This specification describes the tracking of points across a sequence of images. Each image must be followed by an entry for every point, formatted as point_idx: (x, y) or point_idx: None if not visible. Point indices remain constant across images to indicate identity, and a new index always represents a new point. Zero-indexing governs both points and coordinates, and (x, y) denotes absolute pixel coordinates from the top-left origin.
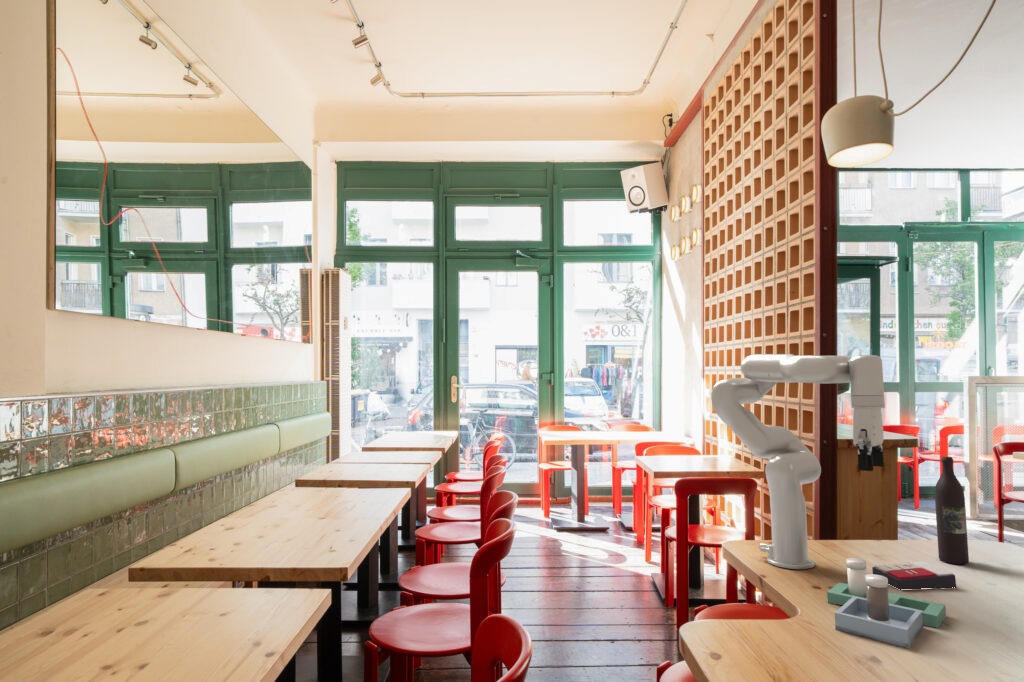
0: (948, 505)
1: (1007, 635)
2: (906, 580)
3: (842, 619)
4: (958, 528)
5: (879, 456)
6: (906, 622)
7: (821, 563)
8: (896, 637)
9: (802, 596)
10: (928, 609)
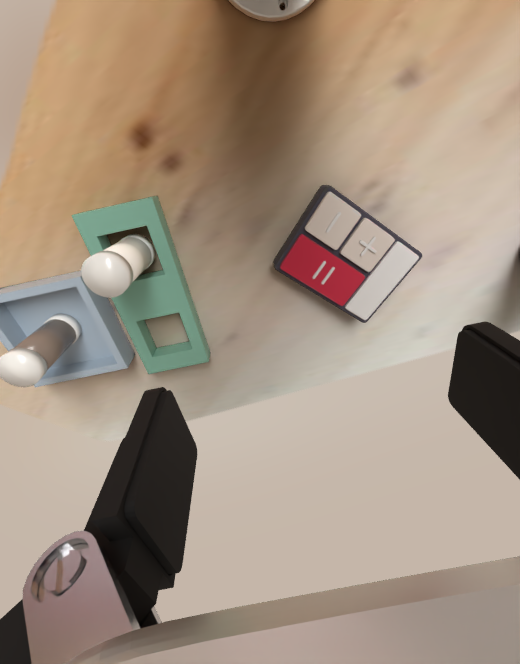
0: None
1: (206, 410)
2: (286, 275)
3: None
4: None
5: (512, 449)
6: (59, 376)
7: (342, 12)
8: None
9: (57, 152)
10: (163, 358)
